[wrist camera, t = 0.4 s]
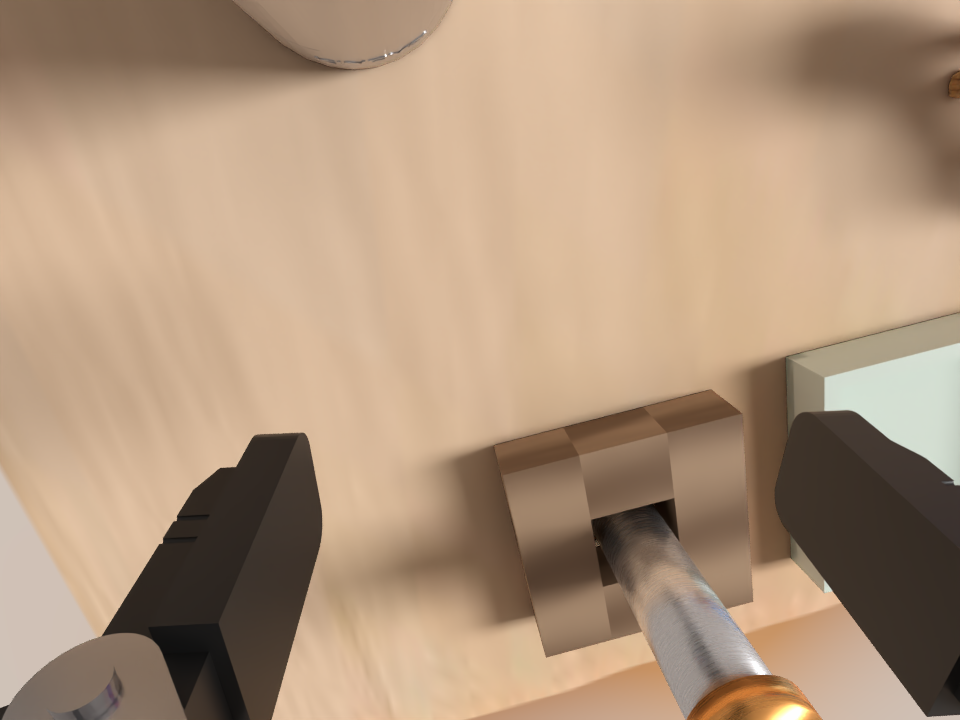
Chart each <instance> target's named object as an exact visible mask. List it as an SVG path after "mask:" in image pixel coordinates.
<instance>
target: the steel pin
mask: <svg viewBox="0 0 960 720" xmlns="http://www.w3.org/2000/svg"><path fill="white" fill-rule="evenodd" d="M591 524H592V530H593V532H594V534H595V536H596V538H597V540H598V542H599V544H600V546H601V548H602V550H603V553H604V555H605V557H606V559H607V561H608V563H609V565H610V567H611V569H612V571H613V573H614V575H615V577H616V579H617V581H618V583H619V585H620V587H621V589H622V591H623V593H624V595H625V597H626V599H627V601H628V603H629V605H630V608H631V610H632V612H633V614H634V616H635V618H636V620H637V622H638V624H639V626H640V628H641V630H642V632H643V634H644V636H645V638H646V640H647V642H648V644H649V646H650V648H651V650H652V652H653V654H654V656H655V658H656V660H657V662H658V665H659V667H660V669H661V671H662V673H663V675H664V677H665V679H666V681H667V683H668V685H669V687H670V689H671V691H672V693H673V695H674V697H675V699H676V701H677V703H678V705H679V707H680V709H681V711H682V713H683V715H684V717H685V719H686V720H822V718H821V717H820V716H819V715H818V713H817V712H816V710H815V709H814V708H813V706H812V705H811V704H810V702H809V701H808V699H807V698H806V697H805V695H804V694H803V693H802V691H801V690H800V689H799V688H798V686H796V685H795V684H794V683H793V682H791V681H789V680H787V679H785V678H782V677H779V676H775V675H772V674H771V672H770V671H769V669H768V668H767V666H766V665H765V663H764V662H763V661H762V659H761V658H760V657H759V655H758V654H757V652H756V651H755V649H754V648H753V646H752V645H751V644H750V642H749V641H748V639H747V638H746V636H745V635H744V634H743V632H742V631H741V629H740V628H739V626H738V625H737V624H736V622H735V621H734V619H733V618H732V616H731V615H730V614H729V612H728V611H727V609H726V608H725V606H724V605H723V604H722V602H721V601H720V599H719V598H718V596H717V595H716V594H715V592H714V591H713V589H712V588H711V586H710V585H709V584H708V582H707V581H706V579H705V578H704V576H703V575H702V574H701V572H700V571H699V569H698V568H697V566H696V565H695V564H694V562H693V561H692V559H691V558H690V556H689V555H688V554H687V552H686V551H685V549H684V548H683V546H682V545H681V544H680V542H679V541H678V539H677V538H676V536H675V535H674V534H673V532H672V531H671V529H670V528H669V526H668V525H667V524H666V522H665V521H664V519H663V518H662V516H661V515H660V514H659V512H658V511H657V509H656V508H655V507H654V505H653V504H649V505H645V506H642V507H638V508H634V509H630V510H626V511H622V512H619V513H615V514H611V515H607V516H603V517H600V518H596V519H592V520H591Z"/></svg>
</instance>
